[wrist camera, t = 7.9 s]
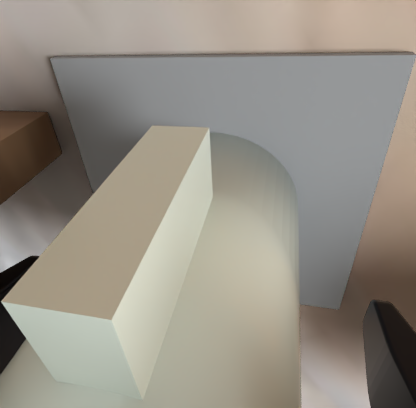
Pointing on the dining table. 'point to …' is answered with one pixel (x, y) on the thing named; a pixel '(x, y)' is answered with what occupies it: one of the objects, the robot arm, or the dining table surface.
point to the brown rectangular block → (24, 148)
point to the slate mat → (257, 129)
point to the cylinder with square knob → (167, 286)
